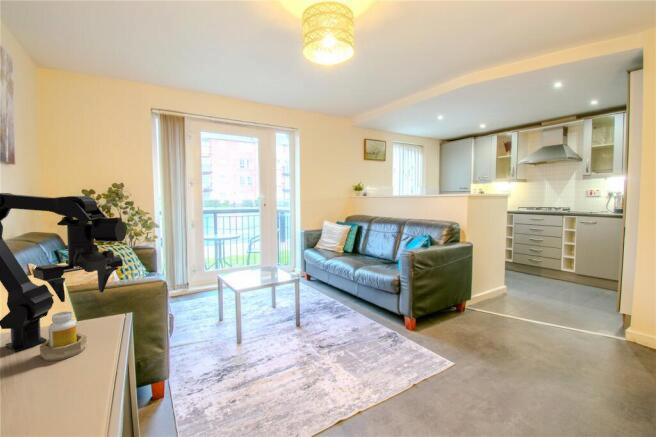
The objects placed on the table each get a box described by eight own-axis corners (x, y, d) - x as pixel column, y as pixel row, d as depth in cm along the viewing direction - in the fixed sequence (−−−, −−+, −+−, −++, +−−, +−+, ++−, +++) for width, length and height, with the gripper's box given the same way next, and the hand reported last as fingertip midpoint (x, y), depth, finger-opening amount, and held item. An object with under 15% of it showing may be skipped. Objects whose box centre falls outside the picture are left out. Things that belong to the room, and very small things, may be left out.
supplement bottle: (82, 346, 80) (80, 311, 79) (59, 357, 75) (57, 319, 74) (67, 343, 82) (66, 309, 81) (44, 353, 76) (42, 316, 76)
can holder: (35, 355, 76) (35, 344, 76) (74, 341, 84) (74, 331, 84) (52, 364, 73) (51, 352, 72) (91, 348, 80) (91, 337, 80)
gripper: (53, 249, 70) (56, 313, 71) (133, 239, 87) (134, 292, 88) (31, 245, 75) (33, 305, 76) (111, 237, 92) (112, 286, 93)
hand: (83, 296), depth 83 cm, fingers open, 9 cm apart
